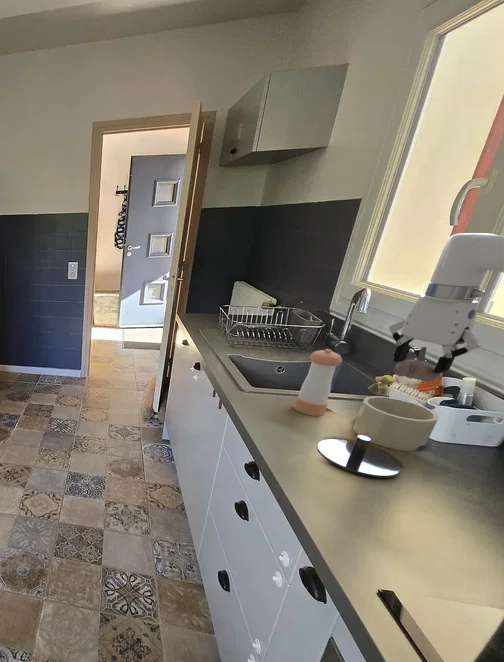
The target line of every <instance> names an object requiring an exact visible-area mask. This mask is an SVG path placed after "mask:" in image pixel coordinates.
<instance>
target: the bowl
mask: <svg viewBox="0 0 504 662" xmlns="http://www.w3.org/2000/svg"><path fill="white" fill-rule="evenodd" d="M439 418H440V416H439V415H438V414H437V412H435V411H434V410H432V409H430V408H428V407H427V406H424V405H423V404H422V405H421V404H418V403H416V402H413V401H409V400H407V399H401V398H396V397H390V396H385V395H384V396H381V395H371V396H366V397H364V398H363V400H362V403H361V405H360V408H359V410H358V413H357V416H356V418H355V421H354V423H353V426H352V429H353V432H354V433H355V434H357V436H358V435H363V436H366V437H369V438H370V439H371V441H370V443H372V444H375V445H378V446H381V447H384V448H387V449H392V450H396V451H400V452H401V451H403V452H419V451H420V452H421V451H422V450H423V448H422V447H424V446H426V445H427V443H428V441H429V439H430V437H431V435H432V432H433V430H434V428H435V427H436V424H437V422H438V420H439Z"/></svg>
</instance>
